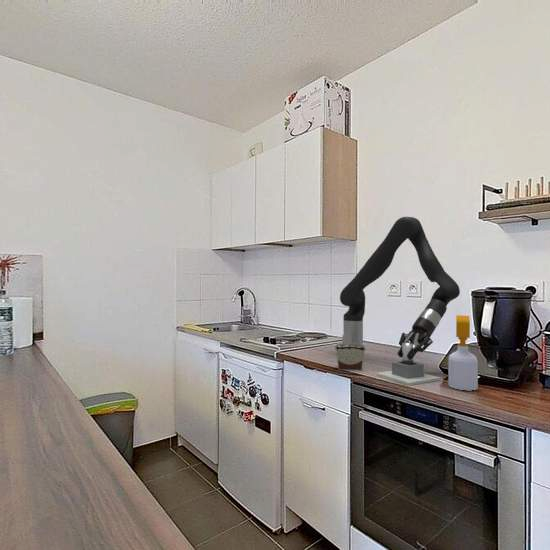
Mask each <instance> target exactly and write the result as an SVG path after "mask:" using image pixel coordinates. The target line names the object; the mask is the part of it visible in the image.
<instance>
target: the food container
mask: <svg viewBox="0 0 550 550" xmlns="http://www.w3.org/2000/svg"><path fill="white" fill-rule="evenodd" d="M334 350H335V351H336V357H337V367H338V369H337V370H338V371H358V372H359V371H363V364H364V363H363V361H364V355H365V354H364V353H365V352H366V347H365V345H364V344H363V345H360V344H352V343H343V344H342V343H338V344H336V345H335V348H334Z"/></svg>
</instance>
